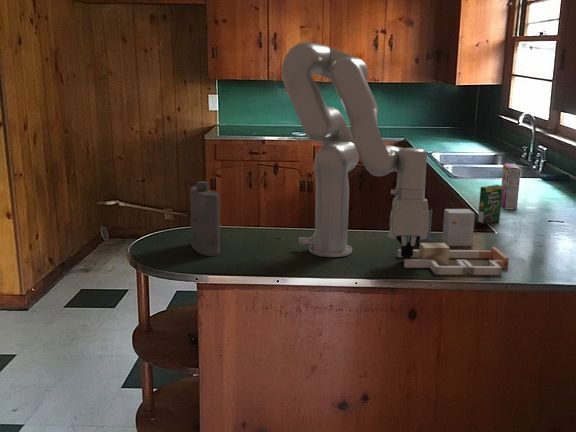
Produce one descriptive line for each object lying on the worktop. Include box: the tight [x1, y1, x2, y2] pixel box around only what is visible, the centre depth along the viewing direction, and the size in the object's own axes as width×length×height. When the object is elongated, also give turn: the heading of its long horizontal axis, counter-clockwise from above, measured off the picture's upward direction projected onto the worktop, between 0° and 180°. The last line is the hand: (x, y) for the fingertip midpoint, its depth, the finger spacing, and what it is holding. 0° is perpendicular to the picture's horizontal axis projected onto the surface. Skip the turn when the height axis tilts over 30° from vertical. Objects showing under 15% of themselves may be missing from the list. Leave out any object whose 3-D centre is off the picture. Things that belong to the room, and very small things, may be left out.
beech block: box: [418, 242, 451, 266], centre depth 172 cm, size 7×5×5 cm
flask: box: [189, 180, 221, 257], centre depth 178 cm, size 15×6×20 cm, turn 26°
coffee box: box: [477, 184, 502, 225], centre depth 217 cm, size 8×3×13 cm, turn 116°
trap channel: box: [397, 246, 510, 276], centre depth 169 cm, size 28×16×3 cm, turn 91°
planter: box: [417, 207, 433, 243], centre depth 192 cm, size 4×4×10 cm
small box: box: [441, 208, 476, 247], centre depth 190 cm, size 8×6×10 cm
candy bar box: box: [500, 163, 522, 210], centre depth 243 cm, size 11×5×16 cm, turn 171°
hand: (406, 258), depth 172 cm, fingers closed
